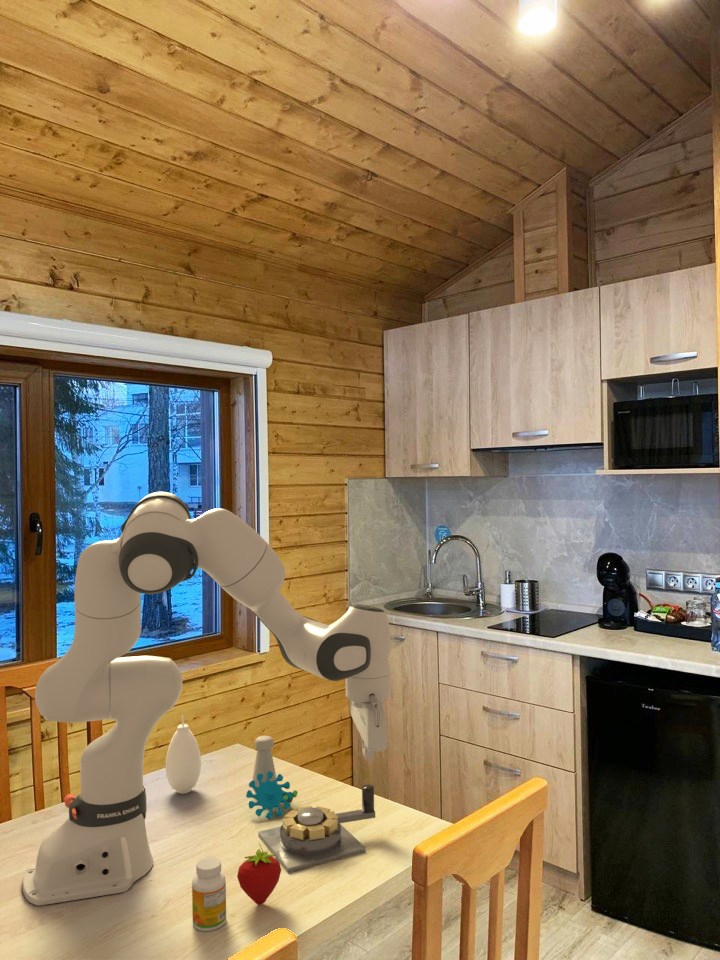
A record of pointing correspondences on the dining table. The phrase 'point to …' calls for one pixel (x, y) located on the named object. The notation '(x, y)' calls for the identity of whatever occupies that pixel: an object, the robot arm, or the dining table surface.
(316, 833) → the ring nut
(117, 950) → the dining table surface
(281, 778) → the teal virus model
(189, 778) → the white air blower bulb
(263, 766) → the salt shaker
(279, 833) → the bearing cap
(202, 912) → the supplement bottle
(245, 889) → the strawberry
